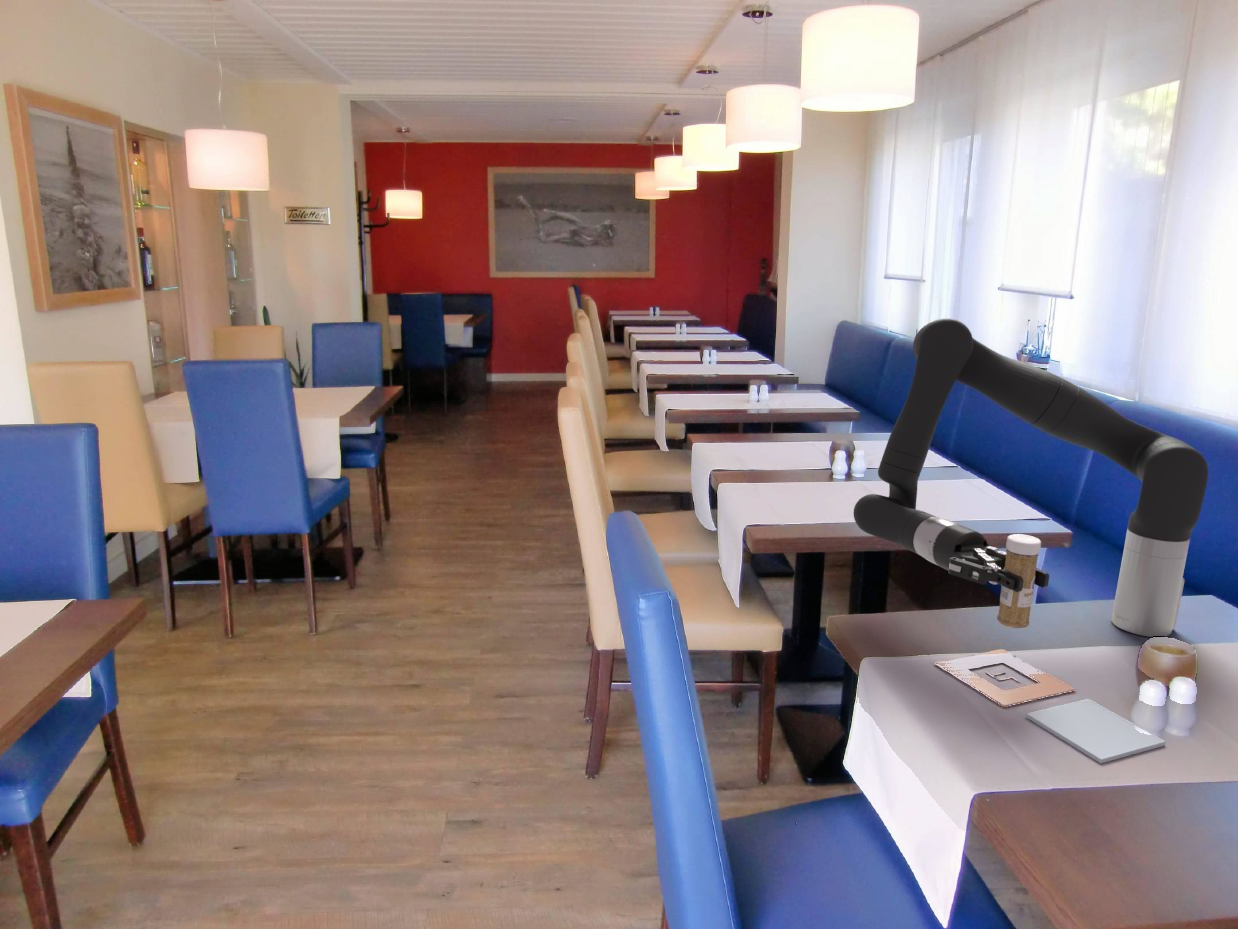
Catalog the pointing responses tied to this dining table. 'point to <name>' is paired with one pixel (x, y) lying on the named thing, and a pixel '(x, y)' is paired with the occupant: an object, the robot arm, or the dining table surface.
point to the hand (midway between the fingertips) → (1033, 583)
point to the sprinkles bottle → (1022, 564)
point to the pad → (1094, 730)
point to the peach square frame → (1017, 695)
